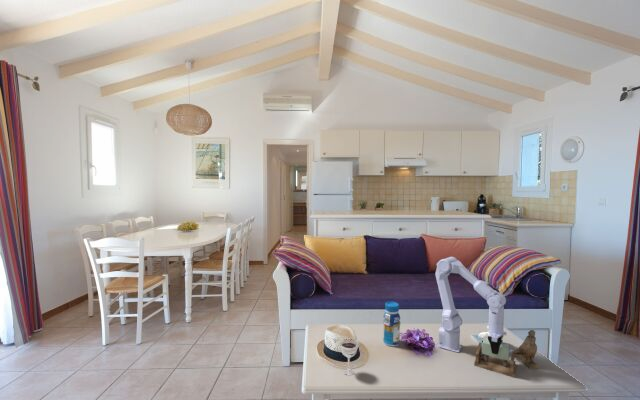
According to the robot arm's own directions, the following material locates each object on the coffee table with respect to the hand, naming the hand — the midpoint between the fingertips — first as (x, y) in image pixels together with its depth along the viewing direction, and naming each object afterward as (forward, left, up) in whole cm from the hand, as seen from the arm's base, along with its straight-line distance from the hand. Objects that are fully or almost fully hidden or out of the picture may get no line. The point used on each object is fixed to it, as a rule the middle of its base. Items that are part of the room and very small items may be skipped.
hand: (495, 351), depth 134 cm
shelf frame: (0, 0, -6) cm, 6 cm away
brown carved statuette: (+11, +11, -6) cm, 17 cm away
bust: (-3, +20, -6) cm, 21 cm away
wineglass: (-51, -42, -6) cm, 66 cm away
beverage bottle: (-45, -8, -6) cm, 46 cm away
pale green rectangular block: (0, 0, -2) cm, 2 cm away
